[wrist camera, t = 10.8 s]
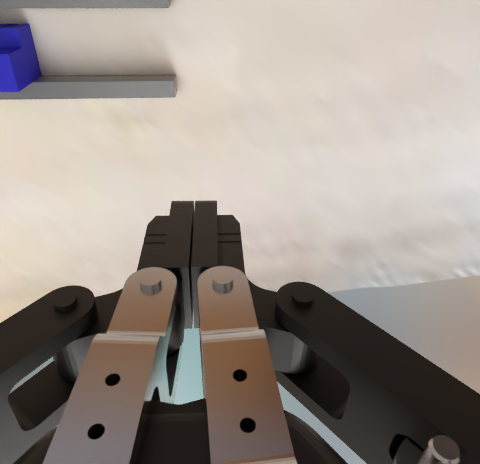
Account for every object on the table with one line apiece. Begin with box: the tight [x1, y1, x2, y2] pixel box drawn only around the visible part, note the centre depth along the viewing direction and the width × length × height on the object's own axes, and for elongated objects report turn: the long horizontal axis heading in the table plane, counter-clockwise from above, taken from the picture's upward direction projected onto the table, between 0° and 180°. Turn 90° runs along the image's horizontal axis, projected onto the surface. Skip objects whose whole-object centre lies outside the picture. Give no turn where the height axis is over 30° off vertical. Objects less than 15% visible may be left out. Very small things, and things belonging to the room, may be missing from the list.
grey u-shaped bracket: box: [0, 0, 177, 99], centre depth 36 cm, size 9×28×5 cm, turn 90°
